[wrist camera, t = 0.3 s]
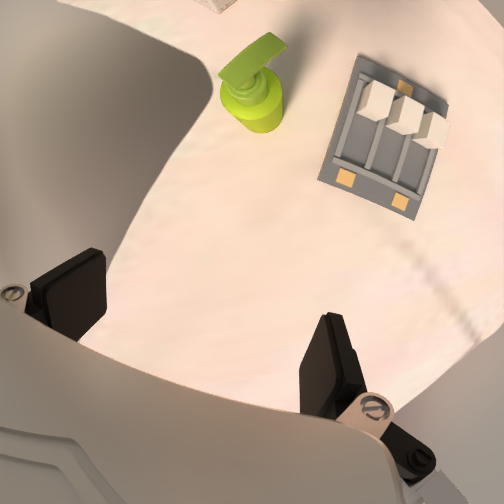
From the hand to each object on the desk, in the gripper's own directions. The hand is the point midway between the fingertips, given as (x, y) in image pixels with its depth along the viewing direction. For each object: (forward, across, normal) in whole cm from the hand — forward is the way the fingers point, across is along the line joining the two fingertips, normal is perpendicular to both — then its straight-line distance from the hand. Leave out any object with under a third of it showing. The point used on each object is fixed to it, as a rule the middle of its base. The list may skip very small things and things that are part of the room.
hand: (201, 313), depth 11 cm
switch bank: (+30, -16, -14) cm, 37 cm away
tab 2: (+29, -16, -17) cm, 37 cm away
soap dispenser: (+30, +3, -13) cm, 33 cm away
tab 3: (+29, -20, -17) cm, 39 cm away
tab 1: (+29, -11, -18) cm, 36 cm away
